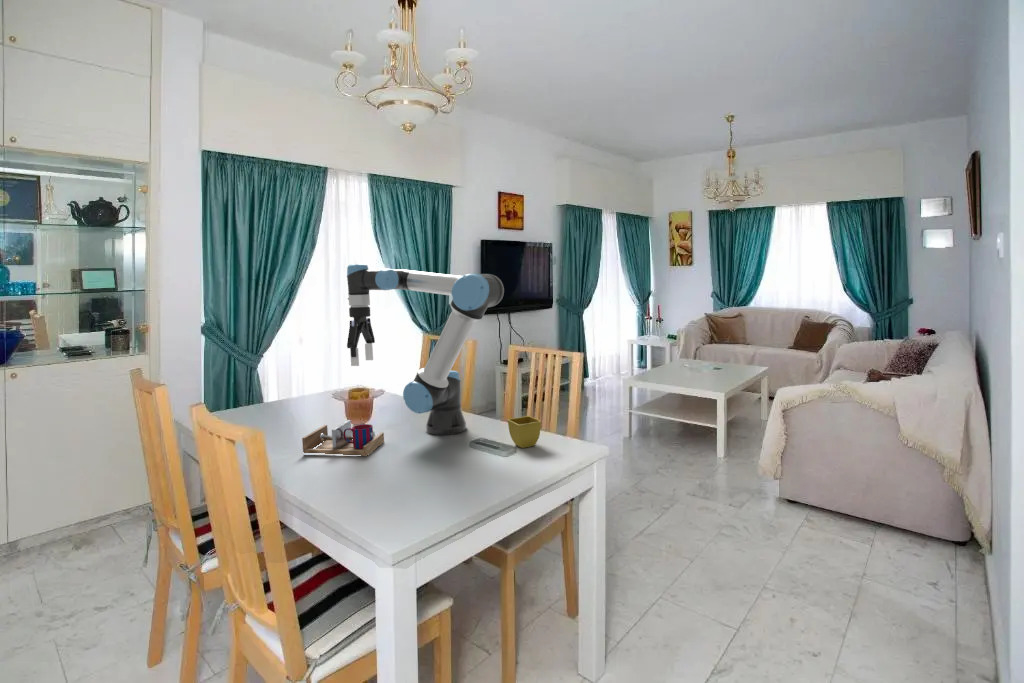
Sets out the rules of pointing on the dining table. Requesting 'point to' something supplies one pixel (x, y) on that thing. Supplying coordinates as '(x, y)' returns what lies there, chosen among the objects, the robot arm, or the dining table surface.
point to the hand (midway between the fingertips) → (362, 363)
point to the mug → (360, 435)
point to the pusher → (339, 435)
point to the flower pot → (524, 431)
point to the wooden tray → (347, 449)
